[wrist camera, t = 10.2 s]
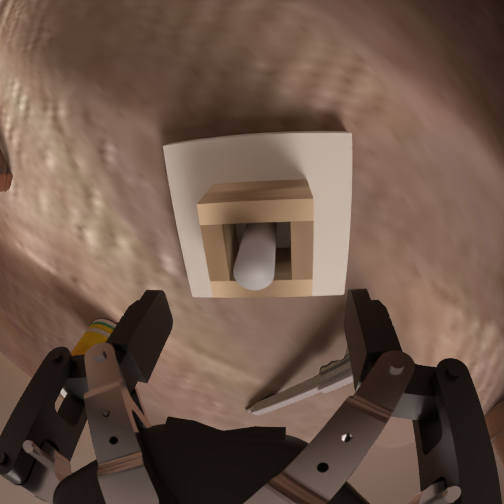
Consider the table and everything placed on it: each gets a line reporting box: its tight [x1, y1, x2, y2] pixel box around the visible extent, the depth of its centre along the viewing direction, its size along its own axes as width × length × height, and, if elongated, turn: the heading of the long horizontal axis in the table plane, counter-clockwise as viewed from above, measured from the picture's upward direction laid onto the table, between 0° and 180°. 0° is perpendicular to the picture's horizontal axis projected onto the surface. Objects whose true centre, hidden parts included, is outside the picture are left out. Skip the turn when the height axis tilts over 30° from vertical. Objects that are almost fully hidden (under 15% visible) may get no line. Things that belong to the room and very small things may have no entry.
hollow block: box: [197, 179, 314, 297], centre depth 18 cm, size 6×6×4 cm
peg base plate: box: [163, 131, 352, 297], centre depth 17 cm, size 12×12×8 cm
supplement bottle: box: [60, 319, 117, 398], centre depth 25 cm, size 5×5×10 cm
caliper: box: [246, 346, 353, 415], centre depth 26 cm, size 20×1×6 cm, turn 146°
